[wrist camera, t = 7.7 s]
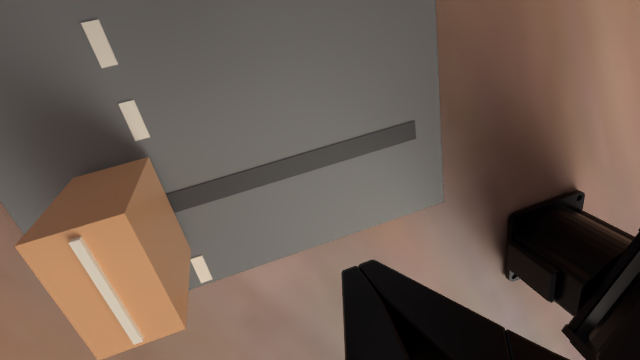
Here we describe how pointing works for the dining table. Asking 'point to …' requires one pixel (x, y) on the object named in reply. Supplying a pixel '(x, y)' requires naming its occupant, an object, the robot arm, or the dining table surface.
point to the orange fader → (113, 258)
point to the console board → (227, 114)
